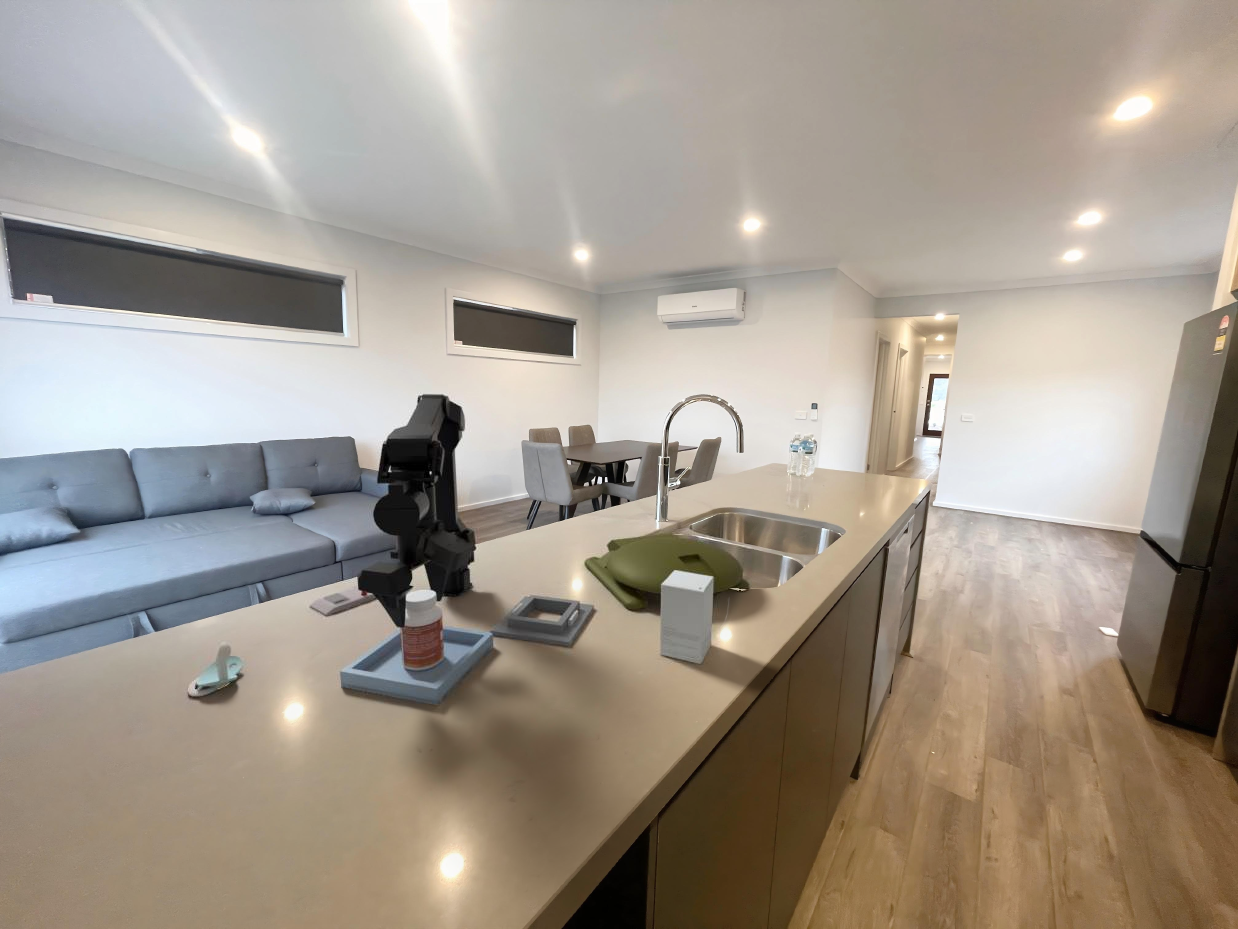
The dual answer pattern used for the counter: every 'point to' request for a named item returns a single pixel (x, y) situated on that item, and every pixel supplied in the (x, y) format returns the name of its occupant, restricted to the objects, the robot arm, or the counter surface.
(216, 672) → the pacifier
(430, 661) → the pill bottle
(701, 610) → the supplement box
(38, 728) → the counter surface
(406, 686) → the tray
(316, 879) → the counter surface
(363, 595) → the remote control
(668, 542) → the spaceship
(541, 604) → the grey square frame
